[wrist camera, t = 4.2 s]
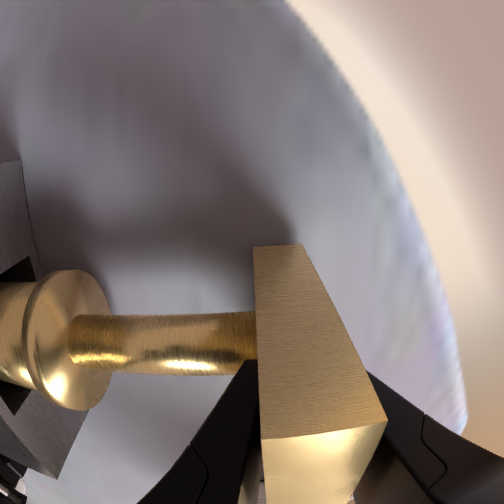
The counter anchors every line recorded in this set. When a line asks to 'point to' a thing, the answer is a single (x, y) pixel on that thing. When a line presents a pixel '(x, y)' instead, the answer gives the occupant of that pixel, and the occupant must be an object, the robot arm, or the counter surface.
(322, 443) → the brass door handle
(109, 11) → the counter surface
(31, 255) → the housing
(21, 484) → the ramekin
